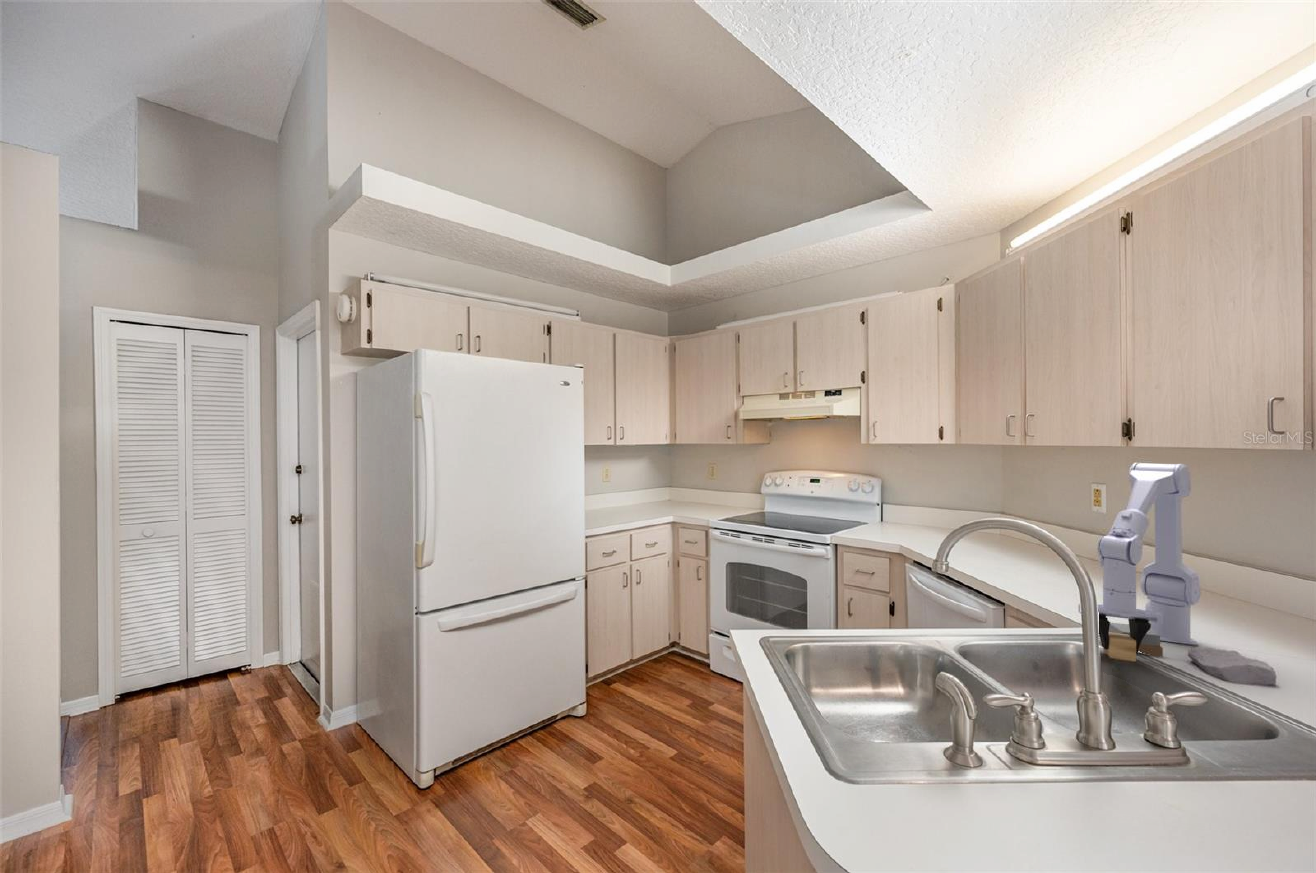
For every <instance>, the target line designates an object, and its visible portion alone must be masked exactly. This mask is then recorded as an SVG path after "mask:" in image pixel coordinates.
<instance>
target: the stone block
mask: <svg viewBox="0 0 1316 873" xmlns="http://www.w3.org/2000/svg"><path fill="white" fill-rule="evenodd" d="M1187 656H1188V657H1189V659H1191V661H1192V662H1193V663H1195V664H1196V665H1197V666H1198V667H1200V668H1201V669H1202V670H1204V672H1206V673H1207V674H1209V675H1210V676H1213V677H1214V678H1218V679H1221V680H1222V681H1226V682H1229V683H1234V684H1235V683H1236V684H1243V685H1259V686H1260V685H1261V686H1275V685H1276V683H1277V681H1276V680H1277V675H1276V672H1275V669H1274V668H1273V666H1271V665H1269V664H1268V663H1267V662H1266V661H1262V660H1258V659H1255V658H1247V657H1246V656H1243V655H1241V654H1240V652H1238V651H1237V650H1233V649H1232V650H1225V649H1219V648H1215V647H1197V648H1190V649H1189V650H1188V652H1187Z"/></svg>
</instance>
